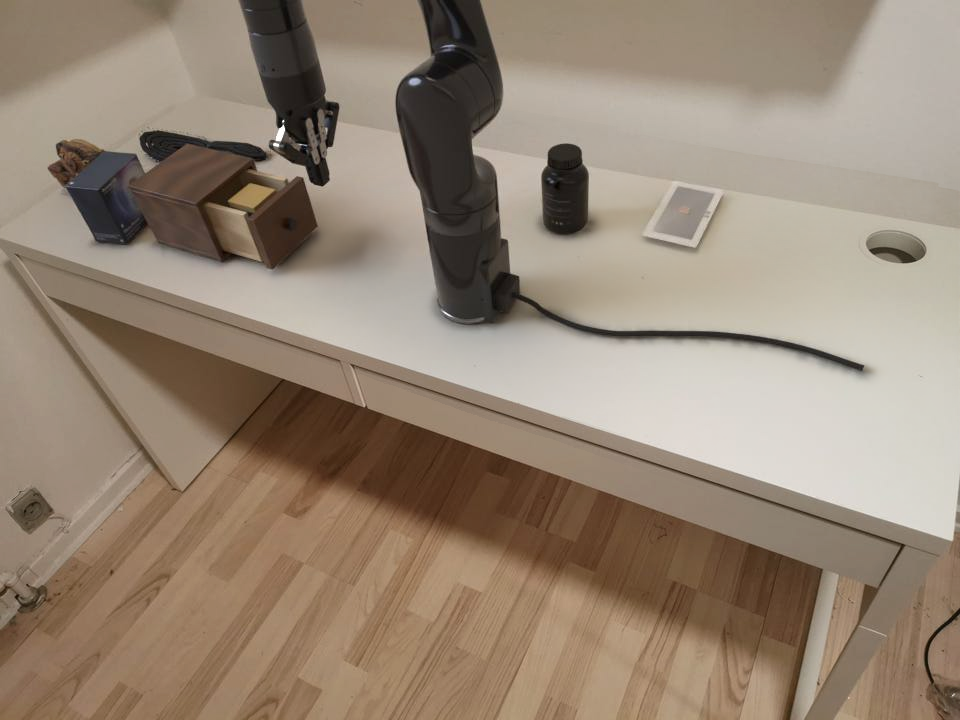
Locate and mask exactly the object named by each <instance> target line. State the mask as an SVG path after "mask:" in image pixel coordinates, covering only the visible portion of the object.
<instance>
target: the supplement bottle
mask: <svg viewBox="0 0 960 720" xmlns="http://www.w3.org/2000/svg"><path fill="white" fill-rule="evenodd" d="M583 161H584V160H583V151H582V149H581V147H579V145H577V144H574V143H567V142H566V143H558V144H555V145H554V146H551V147H550V148H549V149H548V151H547V161H546V164H547V165H546V166H545V167H544V168H543V170H542V172H541V174H540V175H541V176H540V183H541V185H540V187H541V204H542V205H541V208H542V223H543V225H544V227H545V228H546V229H547V230H548V231H549V232H551V233H553V234H556V235H562V236H565V235H566V236H567V235H573V234H576V233H579V232H580V231H582V230H583V229H585V227H586V226H587V224H588V223H589V222H588V221H589V201H590V200H589V195H590V194H589V193H590V192H589V191H590V189H589V188H590V172H589V170H588V168H587V167H586V165H585V164H584V162H583Z"/></svg>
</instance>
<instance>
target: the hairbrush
mask: <svg viewBox="0 0 960 720" xmlns="http://www.w3.org/2000/svg"><path fill="white" fill-rule="evenodd" d="M147 129H150V127H149V126H148V127H147ZM140 132H141V133H142V134H141V133H140ZM140 132H139V134H138V135H139V136H138V139H139V146H140V147H141V150H142V152H144V153H145V154H147V155H148V156H150V157H151V158H152V159H153V160H155V161H158V162H162V161H163V160H165V159H166V158H168V157H169V156H170V155H172V154H173V153H175V152H176V151H177V150H179V149H180V148H182V147H183V146H185V145H186V144H191V145H195V146H200V147H204V148H209V149H213V150H218V151H222V152H226V153H231V154H235V155H240V156H244V157H249V158H253V160H254V161H265V160H266V159H267V156H268V155H267V153H266V152H265V150H264V149H262V148H261V147H260V146H257V145H255V144H252V143H249V142H241V141H230V140H229V141H228V140H213V141H209V140H208V138H206V137H204V136H200V135H199V136H198V135H196V137H194V136H193V135H192V133H190V135H189V133H188V132H186V135H185V132H182V131H180V133H178V132H177V131H175V132H173V130H172V129H171V131H167V130H163V128H161V130H159V129H156V130H155V129H154V128H153V127H152V130H149V131H146V130H145V128H143V130H141V131H140ZM182 133H183V134H182Z"/></svg>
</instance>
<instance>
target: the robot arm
mask: <svg viewBox="0 0 960 720" xmlns="http://www.w3.org/2000/svg"><path fill="white" fill-rule="evenodd" d="M416 1H417V5H418V7H419V9H420V12H421V15H422V18H423V22H424V26H425V30H426V35H427V39H428V40H427V41H428V45H429V54H430V56H429V57H428V58H426V60H424V61H423V62H422V63H420V64H418V66H416V67H415V68H413V69H412V70H410V71H409V72H408V73H407V74H406V75H404V76H403V77H402V78H401V79H400V81H399V83H398V85H397V87H396V91H395V92H396V93H395V100H394V101H395V103H394V104H395V116H396V121H397V126H398V129H399V130H398V131H399V135H400V138H401V142H402V147H403V151H404V156H405V160H406V164H407V168H408V171H409V174H410V176H411V179H412V181H413V182H414V184H415V186H416V187H417V189H418V191H419V195H420V200H421V207H422V213H423V219H424V225H425V232H426V237H427V243H428V249H429V256H430V262H431V268H432V272H433V279H434V285H435V290H436V296H437V299H436V300H437V307H438V309H439V312H440V313H441V314H442V315H443V316H444V317H445V318H446V319H448V320H449V321H451V322H454V323H458V324H464V325H475V324H481V323H489V324H493V323H494V322H495V321H496V319H497V318H498V316H499V315H500V313H505V314H507V313H508V312H509V311H510V309H511V308H512V306H513V305H514V304H515V302H516V300H518V301H520V302H522V303H525V304H528V305H529V306H531V307H532V308H533V309H535V310H537V312H539V313H540V314H542V315H544V316H545V317H547V318H549V319H551V320H553V321H554V322H555V321H556V322H558V323H560V324H562V325H564V326H567V327H568V328H572V329H575V330H577V331H578V330H579V331H582V332H586V333H591V334H596V335H600V336H607V337H619V338H620V337H623V338H624V337H625V338H626V337H630V338H631V337H673V338H675V337H677V338H679V337H682V338H683V337H686V338H687V337H689V338H691V337H692V338H693V337H695V338H696V337H697V338H718V339H719V338H721V339H729V340H741V341H749V342H756V343H762V344H767V345H773V346H777V347H781V348H782V347H783V348H786V349H791V350H795V351H799V352H802V353H807V354H810V355H813V356H816V357H819V358H823V359H825V360H829V361H831V362H834V363H837V364H840V365H842V366H846V367H849V368H852V369H854V370H858V371H860V372H863V370H864V368H865V365H864V364H862V363H858V362H855V361H852V360H850V359H846V358H844V357H841V356H838V355H834V354H832V353H828V352H826V351H823V350H819V349H818V348H817V349H816V348H813V347H811V346H806V345H802V344H798V343H794V342H790V341H786V340H782V339H776V338H771V337H765V336H760V335H753V334H744V333H738V332H737V333H736V332H728V331H727V332H726V331H713V330H712V331H711V330H610V329H603V328H597V327H592V326H589V325H584V324H580V323H577V322H574V321H571V320H568V319H566V318H564V317H562V316H559V315H558V314H555V313H553V312H551V311H550V310H549V309H546V308H545V307H543V306H542V305H541V304H540V303H538V302H537V301H535V300H534V299H532V298H530V297H527V296H525V295H522V294H521V281H520V275H517V274H514V273H511V261H510V247H509V240H508V239H507V238H503V237H502V228H501V227H502V226H501V214H500V201H499V185H498V175H497V171H496V169H495V166H494V165H493V163H492V162H490V161H489V160H488V159H487V158H485V157H483V156H480V155H477V154H474V150H473V139H474V138H475V137H476V136H478V134H480V133H482V131H484V129H486V127H488V126H489V125H490V124H491V123H492V122H493V121H494V120H495V119H496V117H497V116H498V114H499V113H500V110H501V108H502V106H503V101H504V81H503V77H502V71H501V67H500V63H499V59H498V56H497V52H496V49H495V45H494V42H493V39H492V36H491V32H490V29H489V25H488V22H487V19H486V14H485V12H484V8H483V4H482V0H416ZM238 4H239V7H240V9H241V13H242V17H243V20H244V22H245V26H246V30H247V33H248V34H247V35H248V37H249V38H248V40H249V46H250V48H251V53H252V57H253V60H254V63H255V65H256V69H257V72H258V75H259V78H260V81H261V85H262V89H263V91H264V95H265V97H266V101H267V103H268V104H269V105H270V106H271V108H272V109H273V111H274V112H275V125H276V128H277V129H278V131H277V134H276V138H275V139H270V140H269V141H268V149H270V150H271V151H273V152H274V153H276V154H277V155H279V156H280V157H282V158H284V159H285V160H287V162H290V163H291V164H293V165H298V166H302V167H305V170H306V174H307V177H308V181H309V182H310V184H312V185H313V186H318V187H322V188H324V186H326V185H327V184H328V183H329V182H330V181H331V179H330V169H329V164H328V161H327V155H328V148H333V146H334V142H335V137H336V131H337V124H338V119H339V115H340V114H339V112H340V107H341V106H340V103H339V102H336V101H332V100H327V99H326V96H325V95H326V92H327V87H326V83H325V79H324V75H323V71H322V66H321V63H320V59H319V54H318V51H317V45H316V42H315V38H314V34H313V32H312V30H311V27H310V24H309V22H308V18H307V15H306V11H305V7H304V3H303V0H238Z"/></svg>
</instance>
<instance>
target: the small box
mask: <svg viewBox="0 0 960 720" xmlns="http://www.w3.org/2000/svg"><path fill="white" fill-rule="evenodd" d="M145 173H146V172H145V169H144V168H143V166H142V163H141V161H140V159H139V157H138V155H137V153H131V152H120V151H109V150H104V152H102V153H101V154H100V155H99V156H98V157H97V158H96V159H95V160H93V161H92V162H91V163H90V164H89V165H88V166H87V167H86V168H85V169H83V170H82V171H81V172H80V173H79V174H78V175H76V176H75V177H74V178H73V179H72V180H71V181H70V182H69V183H67V184H66V185H65V188H64V189H66V191H67V192H68V194H69V196H70V197H71V200H72V202H73V203H74V204H75V206H76V208H77V210H78V212H79V214H80V216H82V217H81V218H82V219H83V220H84V222H85V224H86V226H87V228H88V229H89V231H90V233H91V235H92V237H93V239H94V241H95V242H99V243H111V244H117V245H128V244H129V243H130V242H131V241H132V240H133V239H134V238H135V237H136V236H137V235H138V233H139V232H140V231H141V230H142V229H143V228H144V227H145V226H146V225H148V223H147V221H146V219H145V217H144V215H143V213H142V211H141V209H140V208H139V206H138V204H137V202H136V200H135V198H134V196H133V194H132V192H131V190H130V188H129V186H128V185H130V184H131V183H132V182H134V181H135V180H137V179H138V178H139V177H141V176H142V175H144V174H145Z"/></svg>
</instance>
